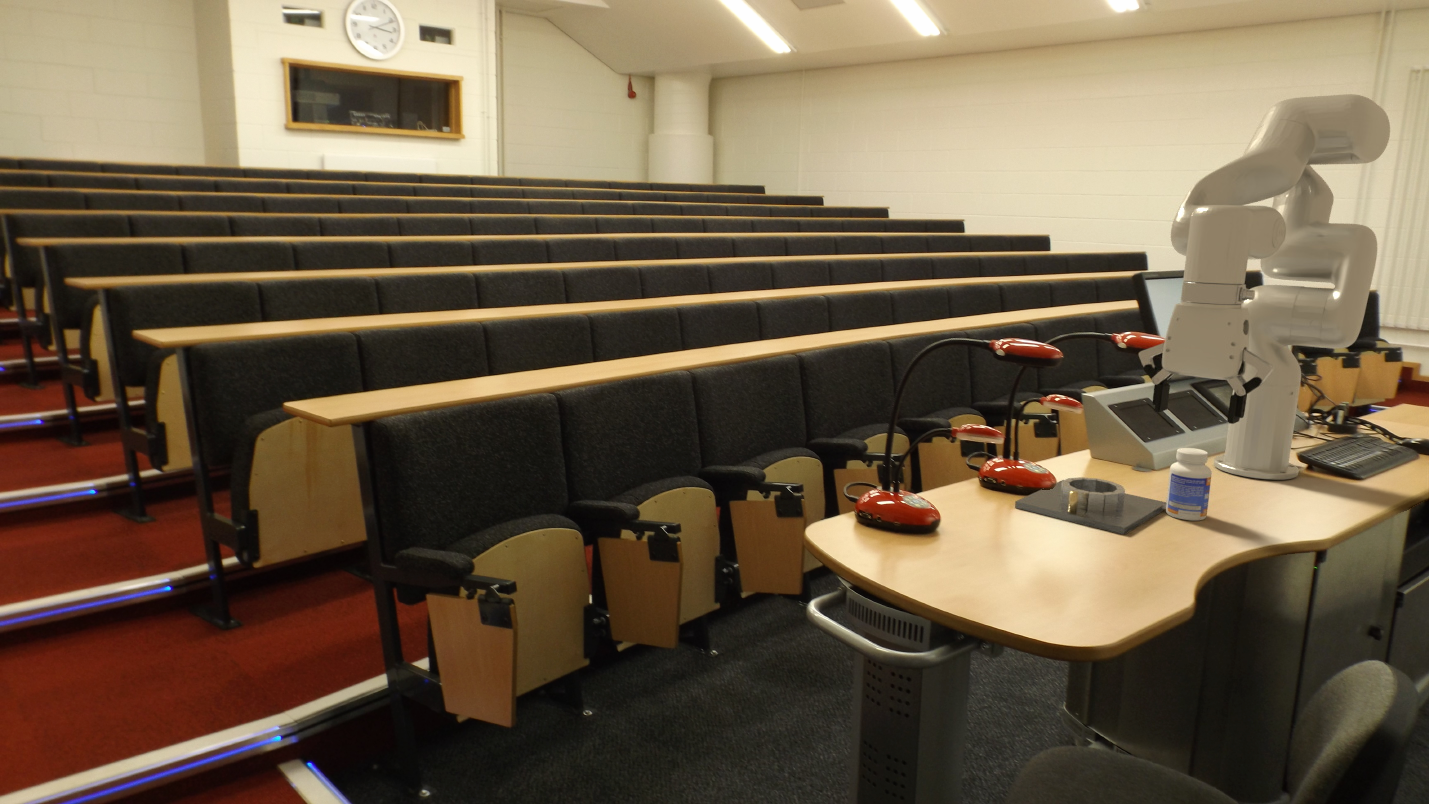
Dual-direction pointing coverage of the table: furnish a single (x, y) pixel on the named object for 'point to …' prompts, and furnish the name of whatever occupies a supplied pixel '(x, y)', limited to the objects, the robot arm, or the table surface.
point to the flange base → (1093, 517)
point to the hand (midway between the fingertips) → (1196, 416)
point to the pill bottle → (1189, 485)
